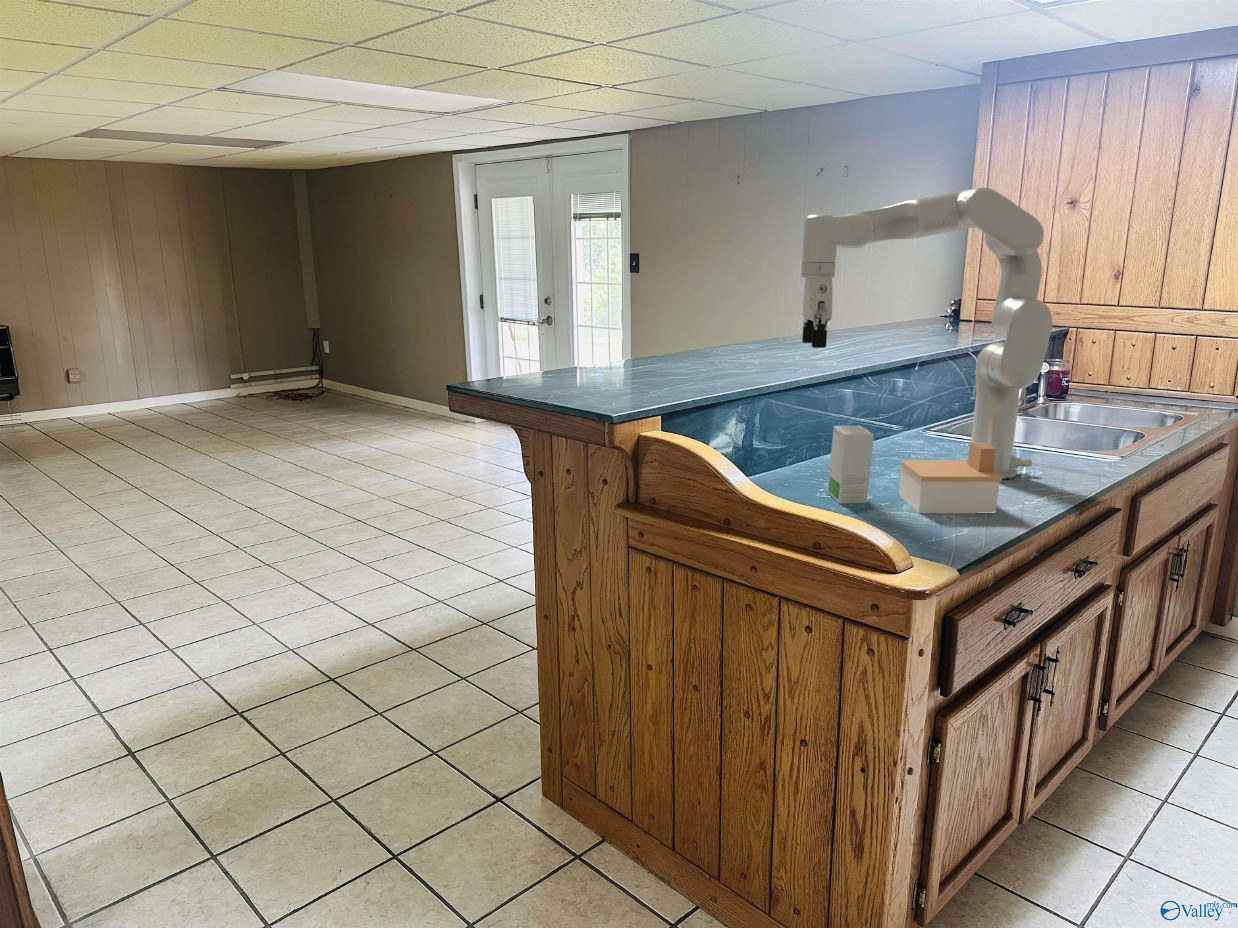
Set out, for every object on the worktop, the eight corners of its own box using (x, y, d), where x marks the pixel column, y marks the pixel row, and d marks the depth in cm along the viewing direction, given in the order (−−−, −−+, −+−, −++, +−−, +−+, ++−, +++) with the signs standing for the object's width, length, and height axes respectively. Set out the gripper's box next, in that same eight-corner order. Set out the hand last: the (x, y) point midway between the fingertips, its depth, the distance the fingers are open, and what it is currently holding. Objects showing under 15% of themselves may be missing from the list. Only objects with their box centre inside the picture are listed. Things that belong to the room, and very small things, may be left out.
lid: (974, 469, 189) (978, 438, 187) (1001, 486, 176) (1005, 453, 174) (899, 468, 189) (902, 438, 187) (920, 485, 176) (923, 452, 174)
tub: (970, 495, 190) (974, 465, 189) (995, 513, 178) (999, 481, 176) (898, 495, 190) (901, 464, 189) (918, 513, 178) (921, 480, 176)
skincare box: (827, 493, 192) (831, 425, 188) (855, 492, 192) (860, 424, 188) (839, 504, 184) (844, 433, 180) (869, 503, 184) (875, 433, 180)
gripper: (844, 271, 189) (839, 349, 193) (825, 269, 205) (820, 341, 210) (810, 271, 189) (806, 349, 193) (794, 269, 205) (790, 341, 210)
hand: (813, 345), depth 201 cm, fingers open, 9 cm apart
